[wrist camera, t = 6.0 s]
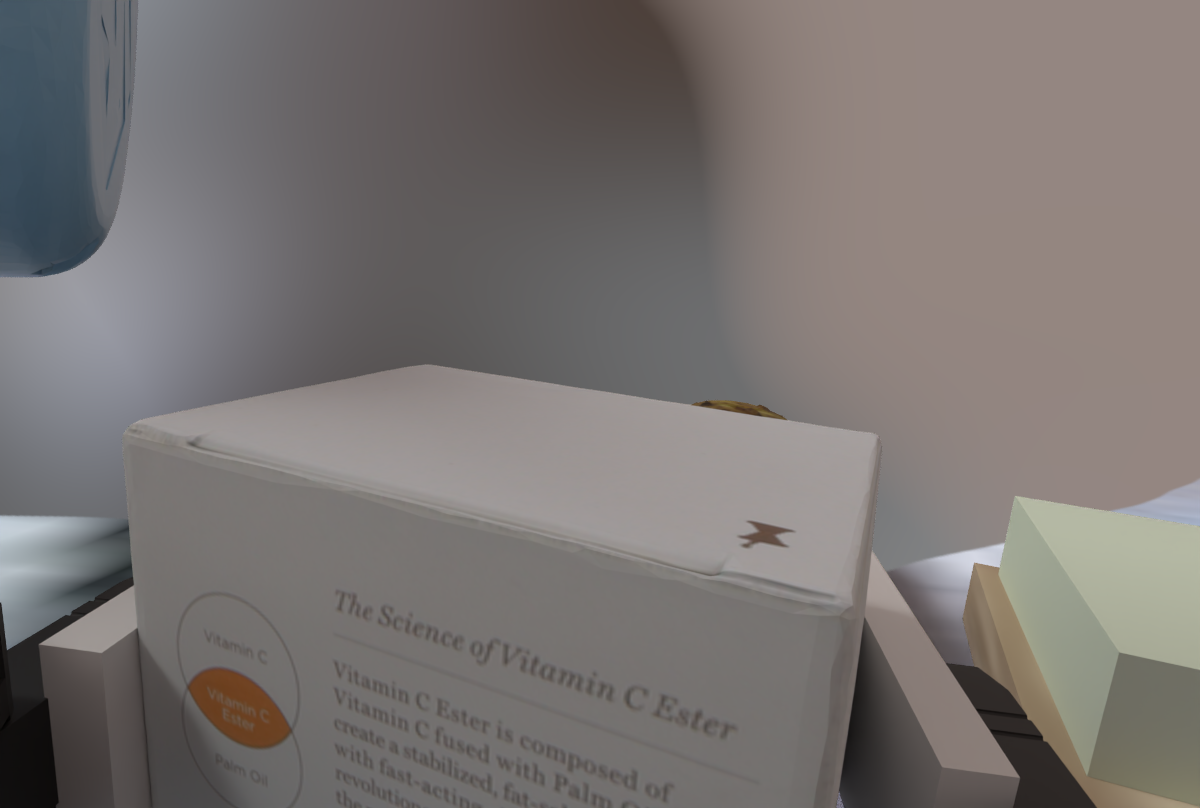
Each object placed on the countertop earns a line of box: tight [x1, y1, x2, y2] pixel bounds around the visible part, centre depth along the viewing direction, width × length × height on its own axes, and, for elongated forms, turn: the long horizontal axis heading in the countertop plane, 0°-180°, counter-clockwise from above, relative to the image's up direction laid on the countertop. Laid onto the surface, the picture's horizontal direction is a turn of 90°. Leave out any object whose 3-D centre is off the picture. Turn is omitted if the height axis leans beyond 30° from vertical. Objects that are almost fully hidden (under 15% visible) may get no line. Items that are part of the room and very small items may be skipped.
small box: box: [122, 364, 882, 808], centre depth 10 cm, size 8×6×10 cm
